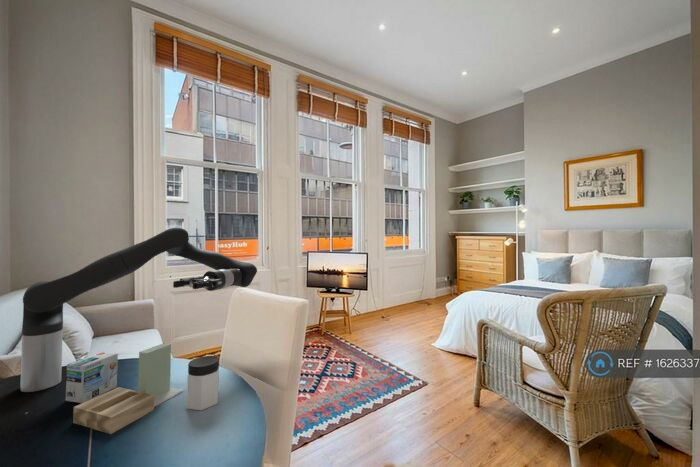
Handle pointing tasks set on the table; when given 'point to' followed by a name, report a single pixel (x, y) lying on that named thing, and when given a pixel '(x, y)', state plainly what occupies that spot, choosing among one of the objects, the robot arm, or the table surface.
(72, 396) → the light bulb box
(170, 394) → the mat
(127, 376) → the table surface
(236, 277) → the robot arm
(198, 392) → the jar
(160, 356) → the grey-green angular block
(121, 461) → the table surface
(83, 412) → the grooved wooden block
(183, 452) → the table surface
